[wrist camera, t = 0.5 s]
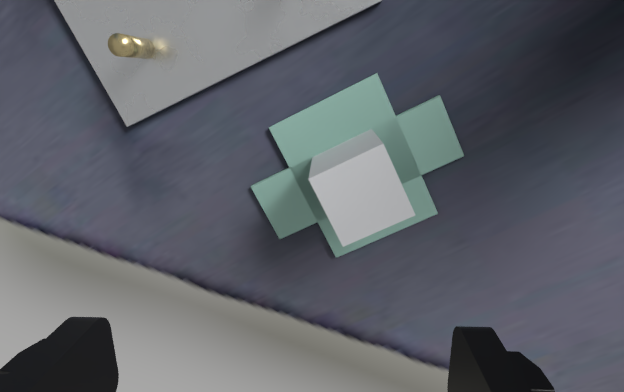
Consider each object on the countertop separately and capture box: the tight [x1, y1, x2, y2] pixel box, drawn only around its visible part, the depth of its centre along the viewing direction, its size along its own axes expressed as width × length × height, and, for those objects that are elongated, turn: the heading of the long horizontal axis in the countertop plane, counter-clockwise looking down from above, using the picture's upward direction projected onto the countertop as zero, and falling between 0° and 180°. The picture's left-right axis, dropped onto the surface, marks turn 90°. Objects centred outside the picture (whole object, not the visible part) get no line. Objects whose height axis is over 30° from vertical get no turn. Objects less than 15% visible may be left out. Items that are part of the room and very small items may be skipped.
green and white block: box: [251, 73, 464, 258], centre depth 29 cm, size 16×12×8 cm
